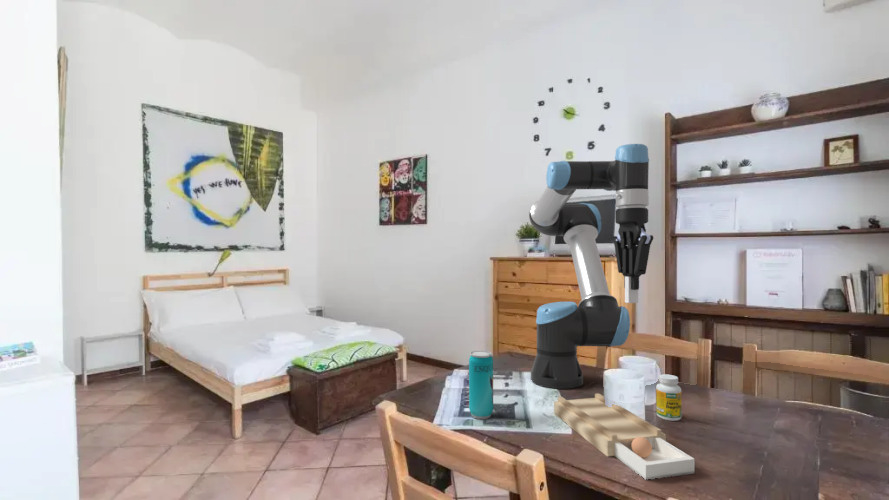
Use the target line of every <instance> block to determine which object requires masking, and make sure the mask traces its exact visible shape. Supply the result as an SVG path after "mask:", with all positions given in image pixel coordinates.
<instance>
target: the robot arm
mask: <svg viewBox="0 0 889 500" xmlns="http://www.w3.org/2000/svg"><path fill="white" fill-rule="evenodd" d="M649 162H650V158H649V148H648V146H647V145H645V144H643V143H629V144H623V145H620V146H618V147H617V148H616V150H615V156H614V160H607V161H606V160H600V161H599V160H598V161H597V160H594V161H593V160H592V161H591V160H589V161H586V160H585V161H581V160H580V161H579V160H578V161H573V160H572V161H571V160H568V161H567V160H560V161H559V160H558V161H552V162H550V163H549V164H548V165H547V170H546V175H545V176H546V177H545V178H546V180H545V181H546V188H545V189H544V190H543V193H542V194H541V197H540V198H539V200H537V201H535V202H534V203H533V204H532V206H531V207H530V210H529V212H528V214H529V215H528V218H529V219H528V220H529V222H530V224H531V225H532V227H533V228H534V229H535V230H536V231H537V232H538V233H541V234H542V235H546V236H549V237H562V238H563V241H564V243H566V244H567V246H569V249H570V253H571V258H572V262H573V266H574V270H575V276H576V280H577V281H576V282H577V284H578V288H579V289H578V290H579V293H580V299H581V300H580V301H579V303H578V305H577V303H576V302H575V301H556V302H550V303H549V302H548V303H545V304H542V305H540V306H539V307H538V308H537V310H536V320H535V324H536V355H535V358H534V361H533V363H532V364H533V365H532V367H531V371H530V381H531V380H532V381H533V382H532V381H531V382H532V383H534V384H535V383H536V384H535V385H537V384H539V386H540V385H542V386H541V387H544V386H545V387H544V388H549V387H551V388H550V389H560V390H562V389H563V390H564V389H566V390H567V389H568V390H569V389H575V388H578V387H581V386H582V385H583V384H584V375H583V371H582V369H581V365H580V362H579V359H578V356H577V355H578V352H577V349H578V347H610V348H611V347H620V346H622V345H624V344H625V343H626V341H627V340H628V337H629V335H630V327H631V318H630V317H631V316H630V313H629V310H628V309H627V308H626V307H625V306H622V305H620V306H619V303H618V301H617V298H616V297H615V296H613V295H611V293H610V291H609V286H608V282H607V279H606V275H605V271H604V267H603V264H602V261H601V257H600V252H599V249H598V246H597V241H596V239H597V238H598V236H599V234H600V232H601V230H602V217H601V212H600V211H599V209H598V207H597V206H596V205H594V204H593V203H585V202H579V203H567V202H569V200H570V198H571V197H572V196H573V194H574V193H575V192H576V190H603V191H607V192H612V191H613V192H615V207H616V208H617V209H616V210H615V216H614V217H615V220H614V221H615V223H616V224H617V225H619V227H618V231H617V232H618V233H617V235H612V238H611V239H612V242H613V245H614V251H615V259H616V263H617V264H616V266H617V271H618V274H622V276H623V279H624V281H623V283H624V284H623V288H624V303H627V304H638V303H639V290H640V289H639V288H640V277H641V276H642V275H646V273H647V267H648V262H649V255H650V251H651V245H652V242H653V240H654V235H652V234H651V235H649V234H648V233H647V229H646V226H645V224H647V223H648V222H649V209H648V206H649V204H650V203H649V202H650V201H649V199H650V198H649V197H650V196H649V170H650V169H649V165H650V164H649Z"/></svg>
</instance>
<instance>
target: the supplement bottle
mask: <svg viewBox="0 0 889 500" xmlns="http://www.w3.org/2000/svg"><path fill="white" fill-rule="evenodd" d="M658 377H659V378H658V381H659V383H657V385H656V386H655V387H656V388H655V392H656V393H655V396H656V397H655V399H656V401H655V403H656V405H655V406H656V408H655V409H656V411H655V413H656V416H657V417H658V418H660V419H663V420H666V421H673V422H675V421H676V422H677V421H680V420H681V419H682V416H683V415H682V407H683V406H682V404H683V403H682V387H680V386H679V385H678V384H679V377H678V376H676V375H672V374H667V373H663V374H659V375H658Z"/></svg>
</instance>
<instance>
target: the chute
mask: <svg viewBox="0 0 889 500" xmlns="http://www.w3.org/2000/svg"><path fill="white" fill-rule="evenodd" d="M604 397H605V396H604V395H602V394H600V393H598V392H595V393H594V397H589V398H588V397H587V398H586V397H585V398H577V399H576V398H575V399H566V398H564V397H563V396H557V400H554V401H553V403H554V404H553V414H554V415H555V416H556V417H557V418H559V419H560V420H561V419H562V420H561V421H562V422H564V423H565V422H566V423H567V424H566V423H565V424H566V425H567V426H569V427H570V428H571V429H573V431H575V432H576V433H577V434H579V435H580V436H581V437H582V438H584V439H585V440H586V441H587V442H588V443H589V444H591V445H592V446H593V447H595V448H596V449H597V450H599V452H601V453H602V454H604V456H606V457H615V456H614V443H615V442H620V443H621V442H623V443H624V441H629V442H628V443H627V445H628V444H629V443H630V444H631V442H630V441H632V440H634V439H635V438H637V437H643V438H646V439H647V440H648V441H649V440H655V439H653V438H657V437H660V438H661V439H663V440H664V441H666V442H667V439H666V438H667V437H666V436H667V435H666V433H664V432H663V431H662V429H660V428H659V427H657V426H655V425H654V424H652V423H650V422H648V421H647V420H645V419H643V418H642V417H640V416H638V415H636V414H635V413H633V412H632V411H630V410H628V409H626V408H625V407H623V406H621V405H619V404H618V405H619V406H618V405H614V404H612V407H608V406H606V405H605V400H604ZM648 438H650V439H648ZM651 438H652V439H651ZM650 442H651V441H650ZM652 442H653V441H652ZM623 443H621V444H623ZM625 444H626V442H625ZM630 444H629V445H628V446H630ZM653 445H654V444H653ZM628 446H627V447H628ZM654 446H655V445H654ZM628 448H629V449H630V447H628ZM631 448H632V447H631ZM652 449H654V448H652ZM630 450H631V451H632V449H630Z"/></svg>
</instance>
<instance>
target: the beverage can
mask: <svg viewBox="0 0 889 500" xmlns="http://www.w3.org/2000/svg"><path fill="white" fill-rule="evenodd" d="M468 408H469V411H470V414H471V416H472V418H474V419H475V420H487V419H490V418H491V416H492V414H493V411H494V358H493V353H492V352H491V351H487V350H474V351H471V352H470V356H469V359H468Z"/></svg>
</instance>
